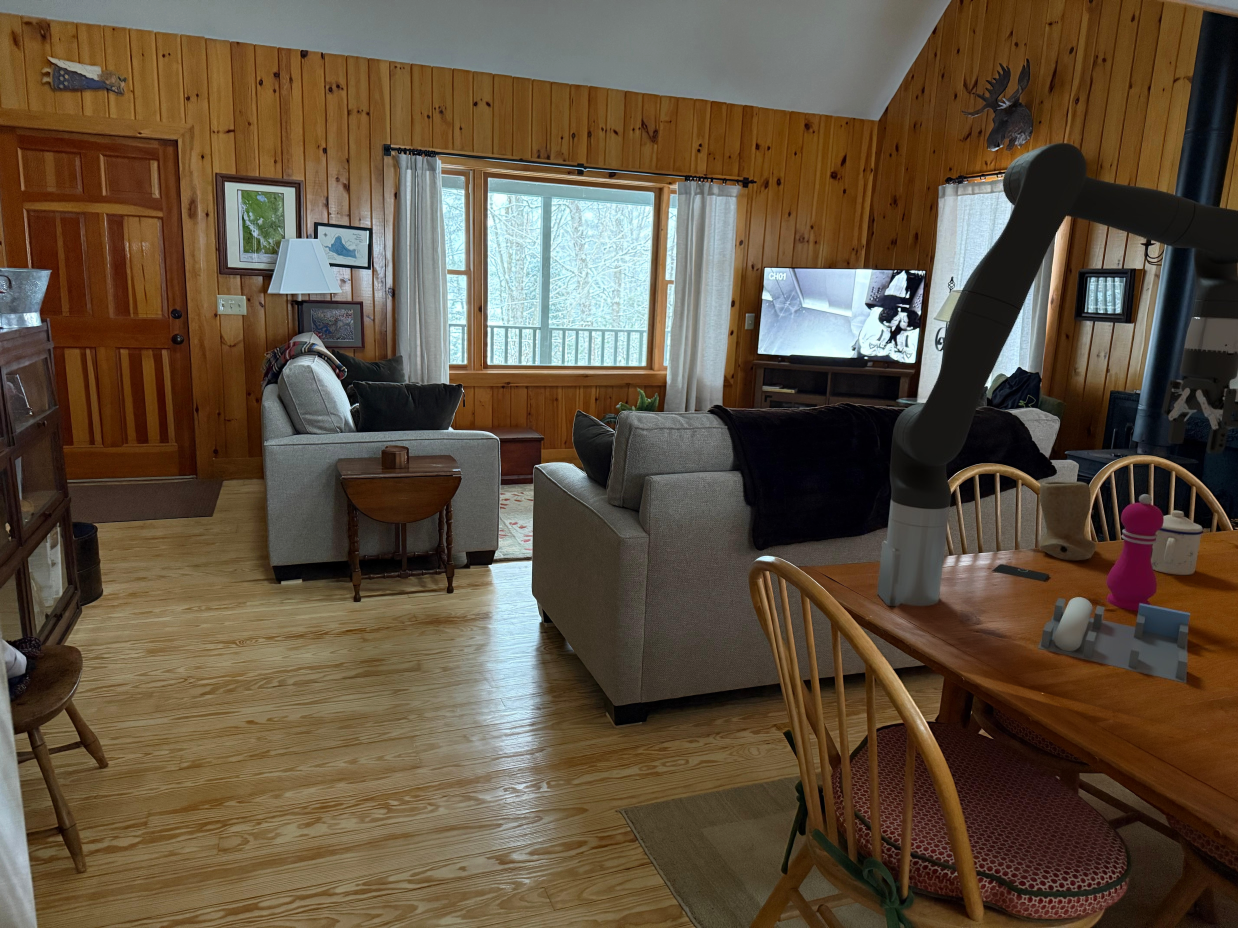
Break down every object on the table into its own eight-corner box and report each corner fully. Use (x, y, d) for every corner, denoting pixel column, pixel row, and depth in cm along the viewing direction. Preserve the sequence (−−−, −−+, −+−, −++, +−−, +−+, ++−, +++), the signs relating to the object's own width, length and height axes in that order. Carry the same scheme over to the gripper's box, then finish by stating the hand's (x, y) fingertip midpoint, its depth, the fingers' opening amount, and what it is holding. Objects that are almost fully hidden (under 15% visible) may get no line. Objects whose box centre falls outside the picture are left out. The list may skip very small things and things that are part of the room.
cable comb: (1185, 689, 111) (1191, 654, 110) (1036, 654, 121) (1041, 621, 120) (1186, 644, 127) (1191, 613, 126) (1054, 616, 137) (1059, 587, 136)
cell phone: (1049, 578, 157) (1050, 573, 157) (1025, 603, 143) (1026, 598, 143) (999, 567, 163) (1000, 563, 162) (972, 590, 149) (973, 585, 148)
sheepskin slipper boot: (1037, 538, 183) (1046, 472, 180) (1098, 549, 176) (1109, 480, 173) (1023, 554, 171) (1033, 483, 168) (1089, 566, 164) (1100, 492, 161)
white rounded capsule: (1079, 653, 119) (1083, 631, 119) (1052, 647, 121) (1055, 624, 120) (1090, 620, 132) (1094, 600, 132) (1066, 615, 134) (1069, 594, 133)
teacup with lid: (1143, 558, 171) (1153, 503, 169) (1197, 568, 166) (1207, 511, 163) (1136, 572, 162) (1146, 514, 159) (1193, 583, 156) (1203, 523, 154)
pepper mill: (1159, 619, 137) (1180, 501, 133) (1111, 614, 138) (1130, 497, 134) (1142, 603, 144) (1161, 491, 140) (1096, 599, 145) (1114, 487, 141)
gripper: (1159, 343, 139) (1142, 439, 142) (1225, 349, 125) (1205, 455, 128) (1201, 345, 139) (1183, 441, 142) (1272, 351, 125) (1251, 457, 128)
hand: (1194, 448), depth 135 cm, fingers open, 8 cm apart
